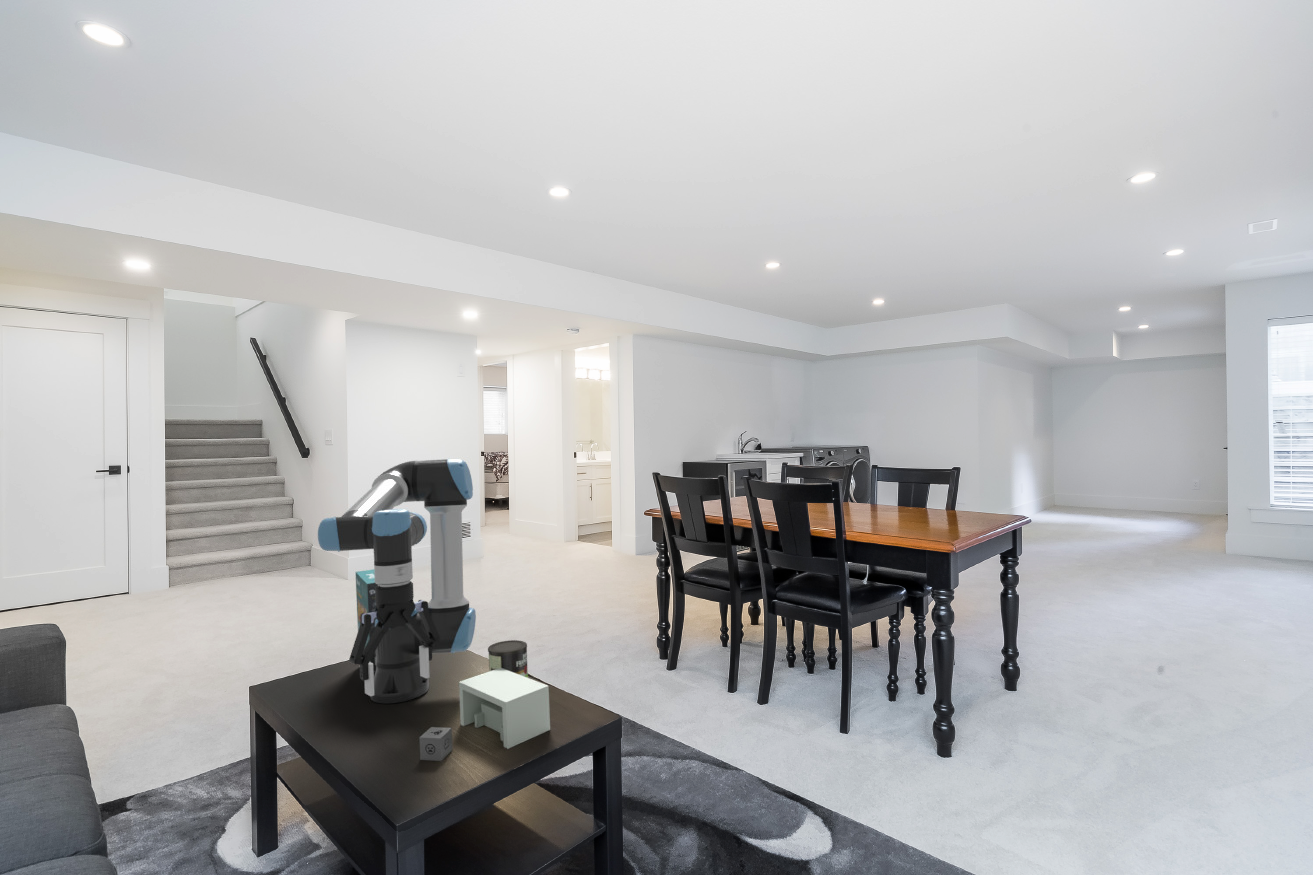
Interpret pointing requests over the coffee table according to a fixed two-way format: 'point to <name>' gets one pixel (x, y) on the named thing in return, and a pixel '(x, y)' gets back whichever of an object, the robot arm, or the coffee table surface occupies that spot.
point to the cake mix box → (366, 601)
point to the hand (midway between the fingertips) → (398, 685)
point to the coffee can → (509, 656)
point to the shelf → (505, 705)
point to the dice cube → (436, 744)
